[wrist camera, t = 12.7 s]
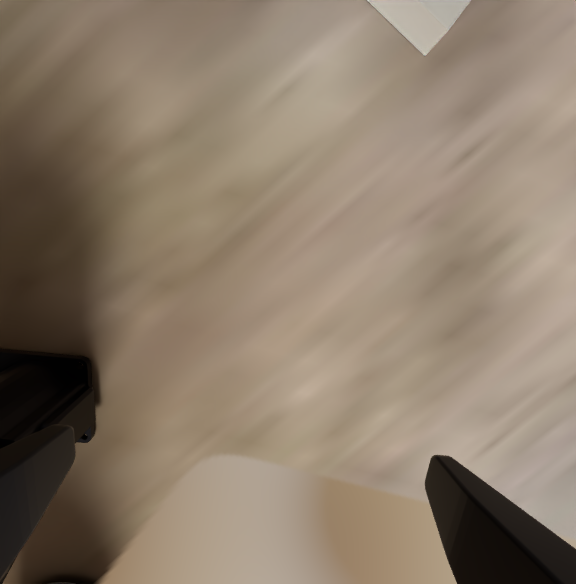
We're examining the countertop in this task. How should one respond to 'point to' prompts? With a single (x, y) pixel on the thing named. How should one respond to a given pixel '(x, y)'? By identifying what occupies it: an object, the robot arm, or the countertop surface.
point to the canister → (61, 583)
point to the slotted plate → (421, 18)
